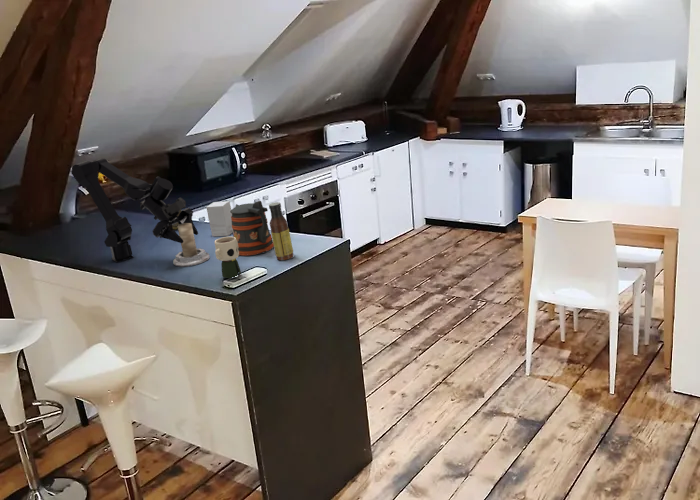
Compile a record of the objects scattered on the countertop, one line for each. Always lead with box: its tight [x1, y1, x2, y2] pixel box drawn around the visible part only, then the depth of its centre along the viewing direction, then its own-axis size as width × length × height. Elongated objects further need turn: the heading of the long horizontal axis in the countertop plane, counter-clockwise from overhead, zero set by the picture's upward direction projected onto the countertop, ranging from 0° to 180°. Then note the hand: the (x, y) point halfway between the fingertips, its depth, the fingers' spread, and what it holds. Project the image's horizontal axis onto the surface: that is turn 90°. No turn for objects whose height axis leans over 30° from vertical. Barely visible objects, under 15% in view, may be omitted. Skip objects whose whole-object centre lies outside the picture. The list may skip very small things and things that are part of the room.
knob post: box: [177, 223, 198, 257], centre depth 248 cm, size 5×5×12 cm
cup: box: [172, 209, 183, 231], centre depth 293 cm, size 8×7×8 cm
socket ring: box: [172, 247, 211, 268], centre depth 250 cm, size 13×13×3 cm
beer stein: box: [230, 200, 274, 257], centre depth 248 cm, size 19×15×20 cm
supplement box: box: [206, 200, 233, 237], centre depth 277 cm, size 7×7×13 cm
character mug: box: [214, 236, 242, 279], centre depth 226 cm, size 11×7×13 cm, turn 150°
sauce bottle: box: [268, 201, 295, 261], centre depth 237 cm, size 7×6×20 cm
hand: (190, 238), depth 247 cm, fingers open, 9 cm apart
